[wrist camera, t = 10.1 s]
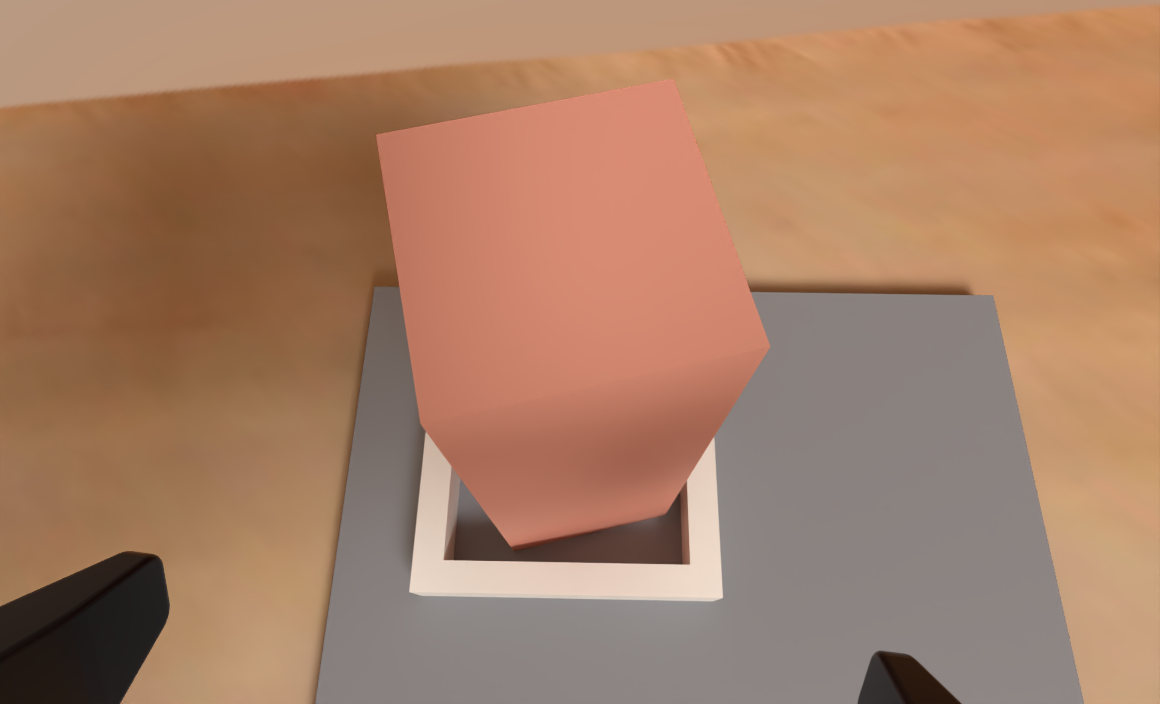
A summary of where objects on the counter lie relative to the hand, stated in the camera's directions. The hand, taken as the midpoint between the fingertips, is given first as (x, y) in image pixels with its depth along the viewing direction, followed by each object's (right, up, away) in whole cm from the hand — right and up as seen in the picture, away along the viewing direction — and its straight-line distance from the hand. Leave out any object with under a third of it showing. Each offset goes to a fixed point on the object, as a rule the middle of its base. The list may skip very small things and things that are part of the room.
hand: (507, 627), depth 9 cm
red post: (+1, 0, +12) cm, 12 cm away
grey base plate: (+4, -2, +12) cm, 13 cm away
